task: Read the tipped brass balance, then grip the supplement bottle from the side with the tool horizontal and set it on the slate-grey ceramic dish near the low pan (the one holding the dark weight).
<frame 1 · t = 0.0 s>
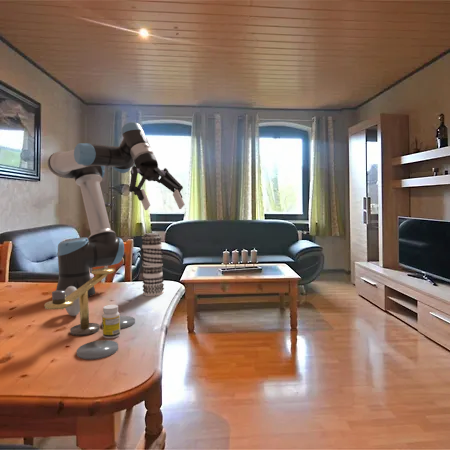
hand: (165, 207, 118), 36 cm above the table, tool tilted 35°, fingers open, 13 cm apart
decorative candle: (153, 293, 147), on the table
balance: (85, 330, 105), on the table
glossy grey puck: (118, 323, 111), on the table
donut: (73, 316, 120), on the table
dish low: (97, 350, 91), on the table
supplement bottle: (111, 336, 101), on the table
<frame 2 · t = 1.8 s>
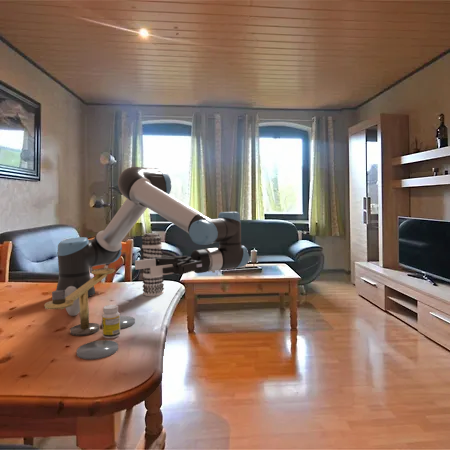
hand: (142, 268, 105), 18 cm above the table, tool horizontal, fingers open, 13 cm apart
nothing on the table moved.
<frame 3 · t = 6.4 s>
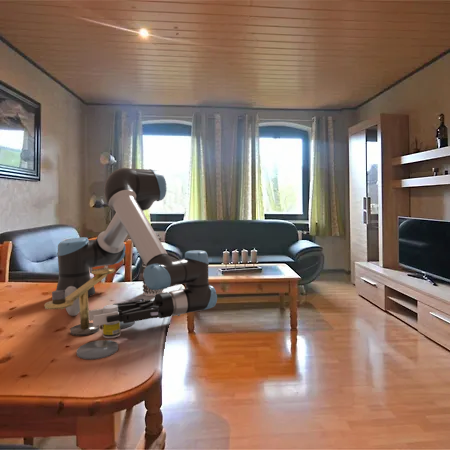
hand: (91, 318, 98), 6 cm above the table, tool horizontal, fingers closed on supplement bottle, 5 cm apart
supplement bottle: (111, 336, 101), on the table, touching gripper
everything else where it was.
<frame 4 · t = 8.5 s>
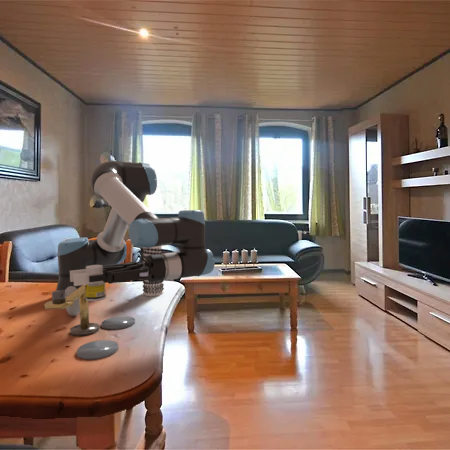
hand: (72, 278, 86), 19 cm above the table, tool horizontal, fingers closed on supplement bottle, 5 cm apart
supplement bottle: (95, 299, 90), point 13 cm above the table, touching gripper
everything else where it was.
when the fingers open (8 cm above the table, at t = 10.7 s): supplement bottle drops 1 cm, resting on dish low.
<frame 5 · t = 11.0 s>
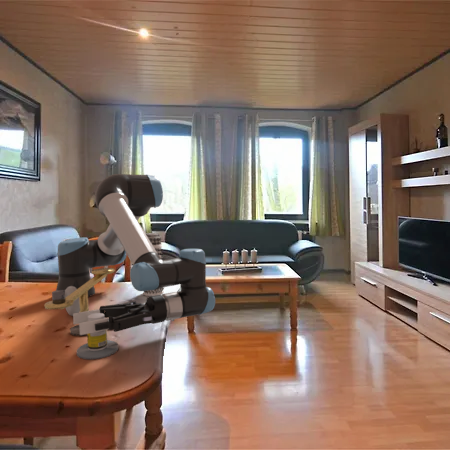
hand: (76, 323, 87), 8 cm above the table, tool horizontal, fingers open, 8 cm apart
supplement bottle: (97, 348, 91), point 1 cm above the table, touching dish low
everything else where it was.
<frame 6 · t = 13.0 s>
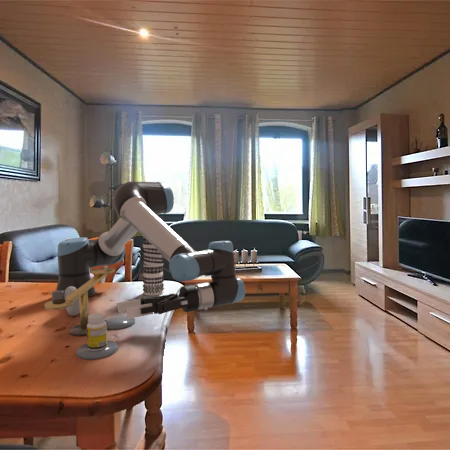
hand: (121, 310, 95), 9 cm above the table, tool horizontal, fingers open, 13 cm apart
nothing on the table moved.
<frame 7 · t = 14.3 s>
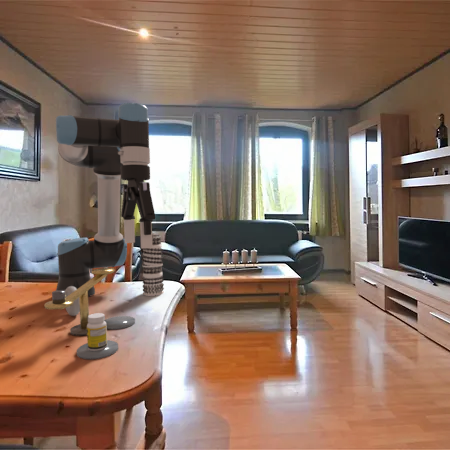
hand: (137, 245, 95), 26 cm above the table, tool pointing down, fingers open, 13 cm apart
nothing on the table moved.
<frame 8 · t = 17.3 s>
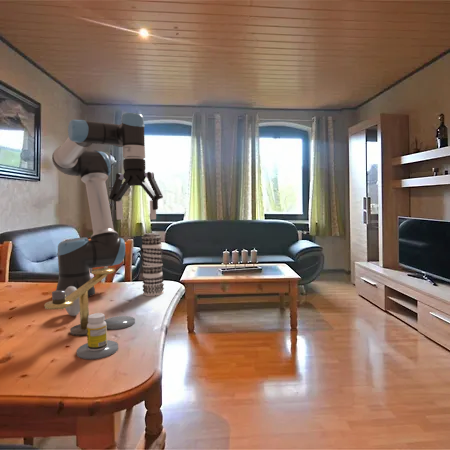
hand: (136, 219, 126), 32 cm above the table, tool pointing down, fingers open, 13 cm apart
nothing on the table moved.
at the end: supplement bottle 0.1 cm from the dish low (horizontally); supplement bottle tilted 0°; the gripper is holding nothing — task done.
